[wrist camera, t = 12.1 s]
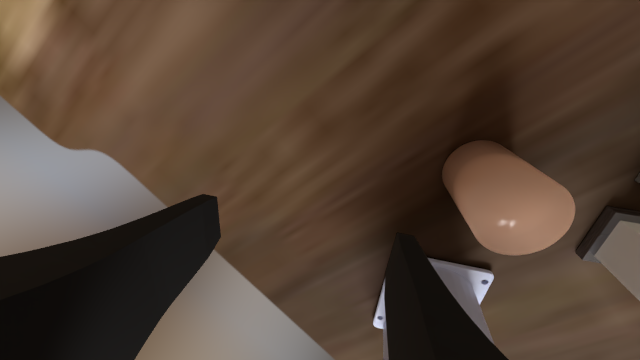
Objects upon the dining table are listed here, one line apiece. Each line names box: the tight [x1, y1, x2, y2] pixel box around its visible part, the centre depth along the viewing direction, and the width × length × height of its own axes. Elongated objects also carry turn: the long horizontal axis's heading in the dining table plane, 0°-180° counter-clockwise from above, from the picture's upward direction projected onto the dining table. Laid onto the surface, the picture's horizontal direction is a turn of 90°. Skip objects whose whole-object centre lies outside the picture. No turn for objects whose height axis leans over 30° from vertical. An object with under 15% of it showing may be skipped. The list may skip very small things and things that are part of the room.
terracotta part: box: [442, 140, 575, 255], centre depth 16 cm, size 4×4×6 cm
